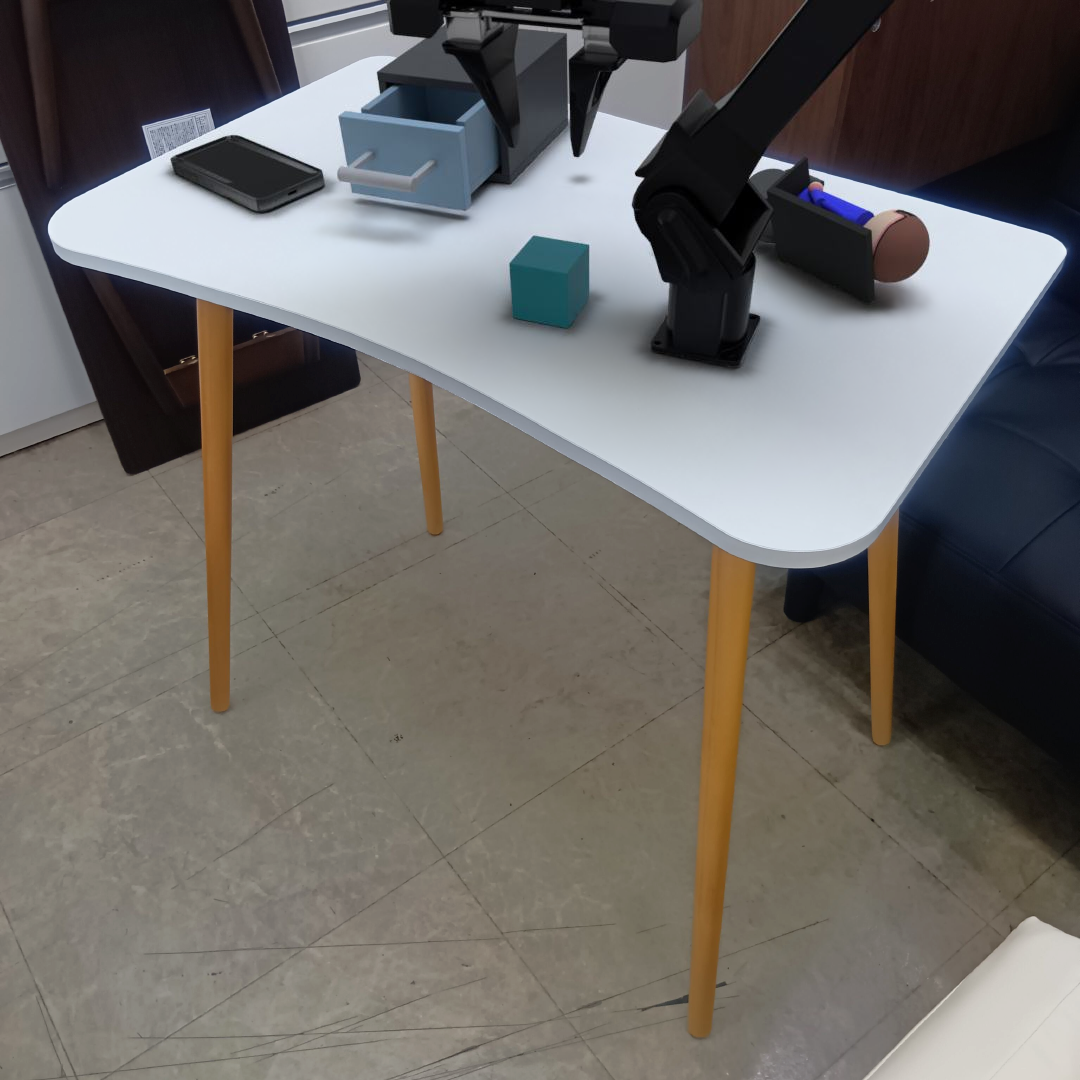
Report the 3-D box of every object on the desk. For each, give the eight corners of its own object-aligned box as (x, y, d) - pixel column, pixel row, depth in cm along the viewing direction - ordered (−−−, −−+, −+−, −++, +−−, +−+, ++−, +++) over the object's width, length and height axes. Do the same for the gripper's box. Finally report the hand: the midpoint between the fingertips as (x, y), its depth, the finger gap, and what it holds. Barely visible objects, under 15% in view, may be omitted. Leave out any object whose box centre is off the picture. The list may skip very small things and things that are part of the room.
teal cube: (568, 328, 71) (567, 273, 68) (512, 318, 73) (508, 263, 69) (589, 298, 74) (589, 244, 71) (535, 288, 75) (533, 234, 72)
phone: (233, 132, 97) (327, 171, 89) (236, 144, 98) (329, 183, 90) (164, 159, 93) (257, 202, 85) (168, 170, 94) (260, 214, 86)
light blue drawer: (440, 236, 80) (431, 155, 75) (323, 216, 84) (307, 137, 79) (527, 149, 92) (524, 74, 87) (421, 135, 96) (412, 62, 91)
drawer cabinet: (510, 184, 89) (504, 86, 83) (390, 166, 93) (376, 71, 87) (568, 124, 98) (567, 32, 92) (457, 110, 102) (449, 21, 96)
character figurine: (781, 227, 82) (926, 302, 73) (718, 248, 78) (861, 328, 70) (801, 133, 76) (959, 200, 68) (734, 150, 73) (891, 224, 64)
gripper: (738, -150, 56) (714, 121, 67) (451, -160, 62) (472, 92, 73) (683, -108, 49) (666, 189, 60) (364, -124, 55) (401, 151, 66)
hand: (546, 150), depth 65 cm, fingers open, 4 cm apart
